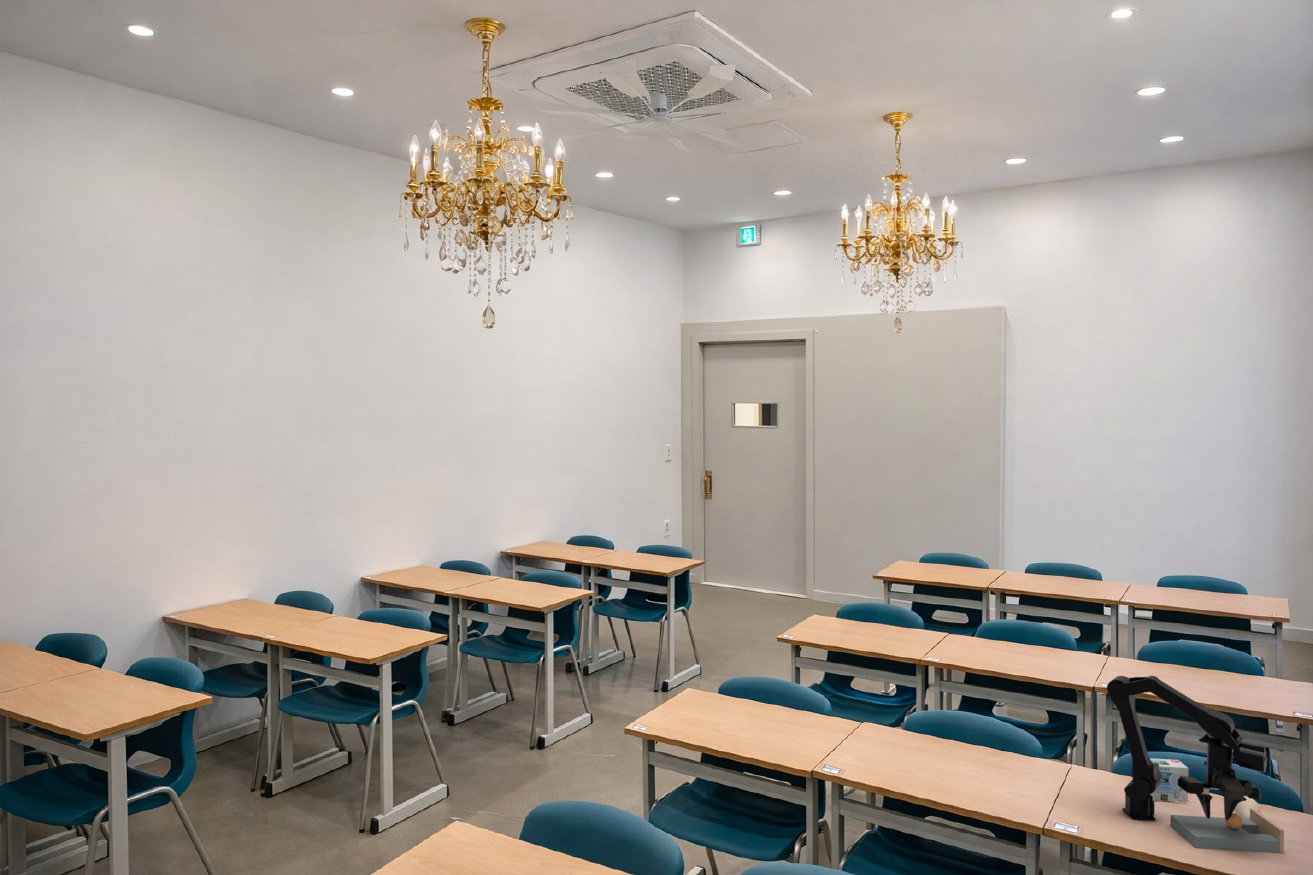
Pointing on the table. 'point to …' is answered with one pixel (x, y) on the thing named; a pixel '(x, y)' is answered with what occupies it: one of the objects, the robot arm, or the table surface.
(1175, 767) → the light bulb box
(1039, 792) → the table surface
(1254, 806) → the light bulb
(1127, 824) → the table surface
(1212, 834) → the notched base with backboard
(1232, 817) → the ball
